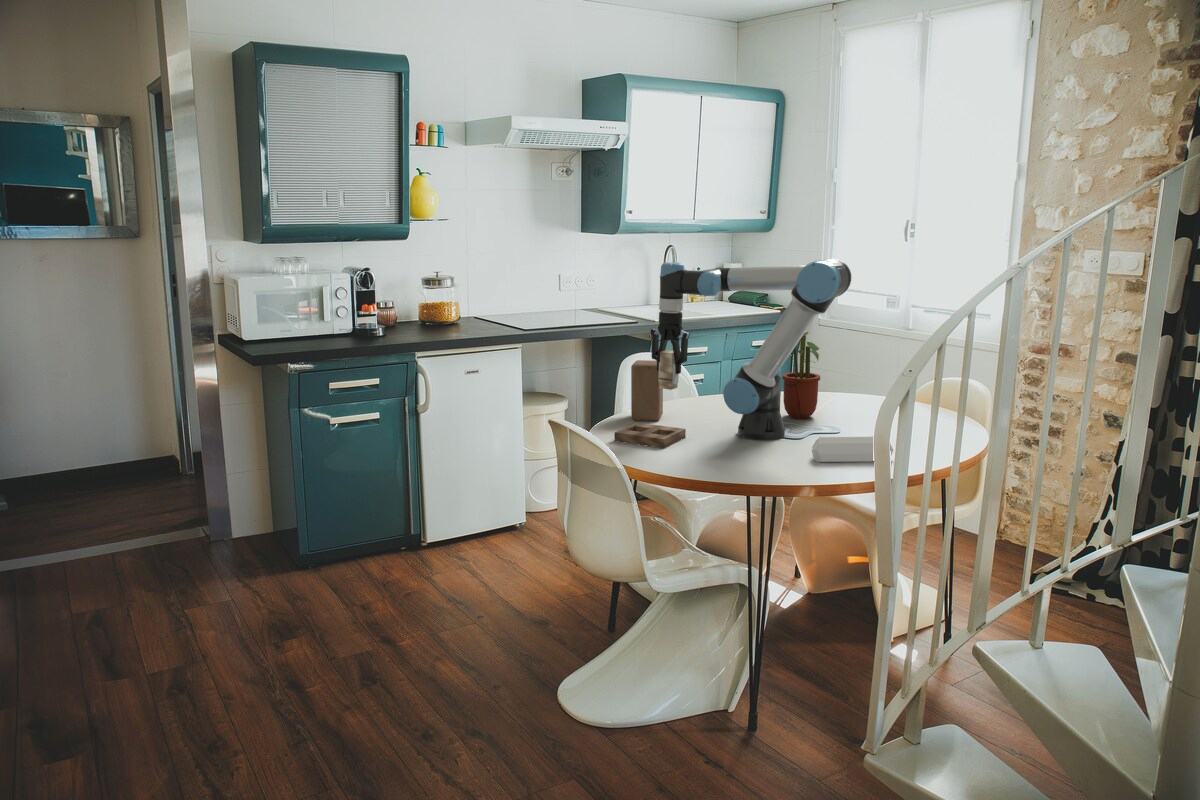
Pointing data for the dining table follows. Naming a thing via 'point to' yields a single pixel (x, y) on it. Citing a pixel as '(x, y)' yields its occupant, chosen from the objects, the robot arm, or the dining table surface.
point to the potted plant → (801, 383)
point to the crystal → (844, 449)
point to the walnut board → (650, 435)
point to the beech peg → (666, 370)
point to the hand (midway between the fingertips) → (668, 382)
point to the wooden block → (646, 391)
